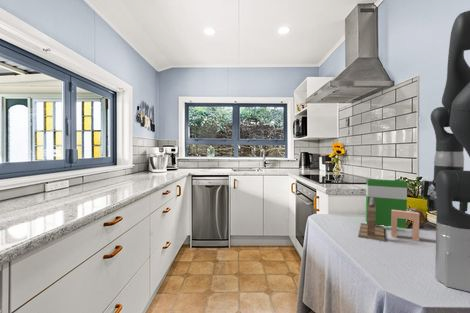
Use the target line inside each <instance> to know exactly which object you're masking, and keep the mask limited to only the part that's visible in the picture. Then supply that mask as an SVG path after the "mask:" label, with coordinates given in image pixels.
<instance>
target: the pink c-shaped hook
mask: <svg viewBox="0 0 470 313" xmlns="http://www.w3.org/2000/svg"><path fill="white" fill-rule="evenodd" d="M419 215H420V214H419V213H418V212H409V211H400V210H392V218H391V227H390V228H391V230H390V237H391V238H396V237H397V238H398V228H397V218H401V219H406V220H407V219H409V220H413V224H412V228H411V229H412V233H411V234H412V235H411V238H412V240H413V241H414V242H415V241H416V242H419V241H420V226H419Z"/></svg>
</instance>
